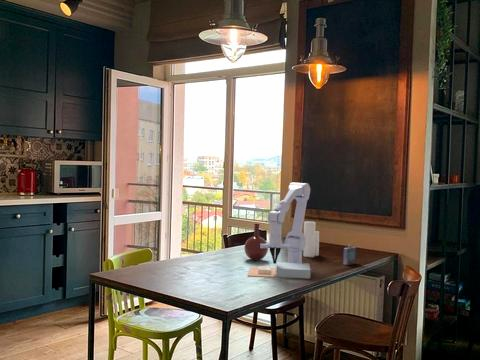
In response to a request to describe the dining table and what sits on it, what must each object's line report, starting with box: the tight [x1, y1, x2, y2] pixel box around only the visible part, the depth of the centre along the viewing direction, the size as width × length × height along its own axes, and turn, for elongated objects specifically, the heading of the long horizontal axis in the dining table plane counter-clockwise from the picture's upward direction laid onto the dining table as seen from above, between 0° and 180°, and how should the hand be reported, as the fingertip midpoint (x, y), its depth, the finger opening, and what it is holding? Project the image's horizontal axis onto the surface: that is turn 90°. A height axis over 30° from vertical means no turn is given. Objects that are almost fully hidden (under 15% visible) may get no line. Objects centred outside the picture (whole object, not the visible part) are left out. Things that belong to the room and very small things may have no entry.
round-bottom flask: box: [243, 223, 269, 261], centre depth 266 cm, size 13×13×20 cm
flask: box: [342, 243, 357, 266], centre depth 262 cm, size 9×3×11 cm, turn 129°
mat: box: [247, 266, 277, 279], centre depth 236 cm, size 18×13×1 cm
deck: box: [275, 261, 311, 279], centre depth 234 cm, size 15×16×4 cm
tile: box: [257, 265, 272, 274], centre depth 235 cm, size 8×6×2 cm
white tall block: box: [302, 221, 320, 258], centre depth 284 cm, size 11×7×20 cm, turn 146°
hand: (274, 263), depth 235 cm, fingers closed
